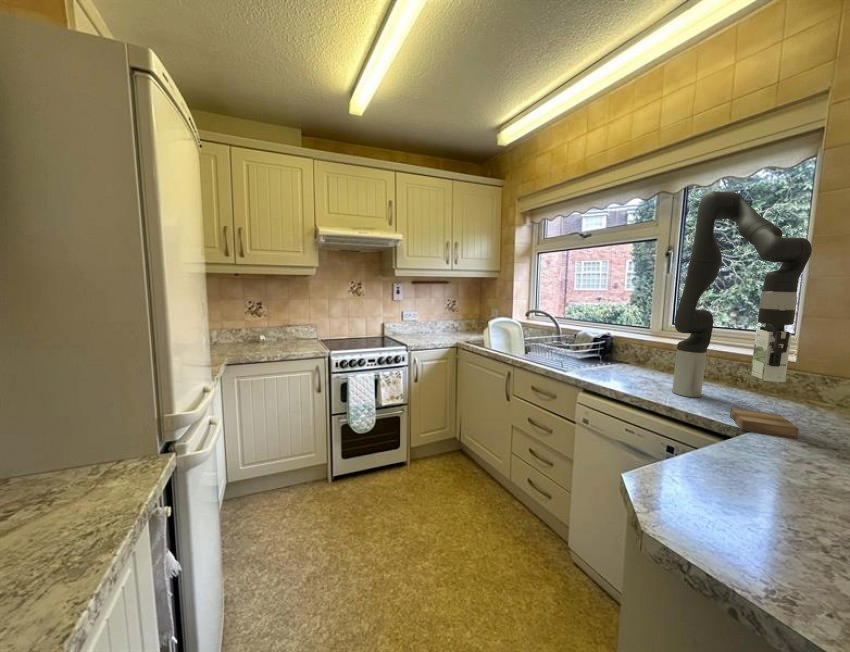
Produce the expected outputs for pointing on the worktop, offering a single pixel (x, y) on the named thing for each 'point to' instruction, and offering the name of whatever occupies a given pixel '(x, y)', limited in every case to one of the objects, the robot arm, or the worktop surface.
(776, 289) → the robot arm
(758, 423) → the walnut plinth
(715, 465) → the worktop surface
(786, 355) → the syrup box
